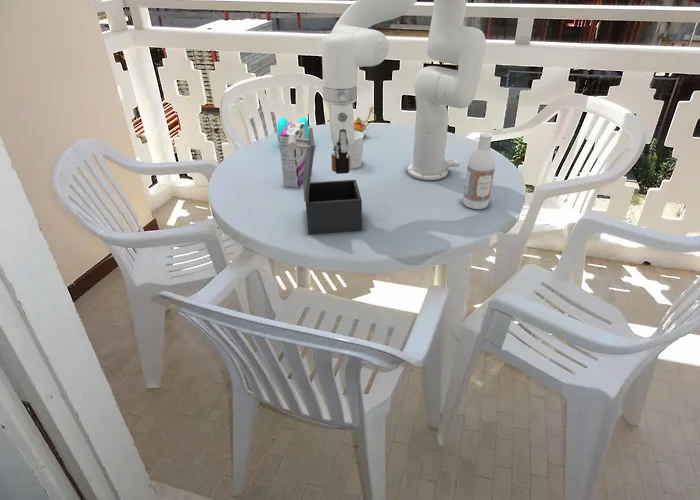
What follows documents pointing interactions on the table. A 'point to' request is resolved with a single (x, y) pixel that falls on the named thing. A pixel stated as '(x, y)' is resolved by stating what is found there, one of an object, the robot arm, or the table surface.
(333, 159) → the cylinder
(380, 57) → the robot arm
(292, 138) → the brewer lid
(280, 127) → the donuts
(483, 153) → the bath foam
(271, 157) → the table surface
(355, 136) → the white cup
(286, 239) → the table surface
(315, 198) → the dark grey storage bin
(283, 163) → the candy bar box
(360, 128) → the magic lamp
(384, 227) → the table surface
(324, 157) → the table surface
